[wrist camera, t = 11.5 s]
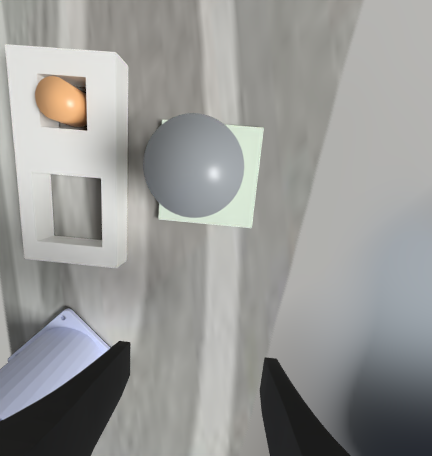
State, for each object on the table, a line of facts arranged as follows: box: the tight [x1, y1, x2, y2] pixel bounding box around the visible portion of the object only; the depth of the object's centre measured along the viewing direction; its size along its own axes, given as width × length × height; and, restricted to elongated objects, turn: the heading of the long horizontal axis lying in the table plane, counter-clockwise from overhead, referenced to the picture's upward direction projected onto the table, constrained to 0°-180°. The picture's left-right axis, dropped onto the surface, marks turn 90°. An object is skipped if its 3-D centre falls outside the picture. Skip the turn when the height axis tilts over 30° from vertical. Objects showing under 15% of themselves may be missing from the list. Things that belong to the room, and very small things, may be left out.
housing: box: [5, 44, 128, 268], centre depth 19 cm, size 16×8×2 cm, turn 175°
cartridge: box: [143, 113, 244, 218], centre depth 15 cm, size 5×5×8 cm
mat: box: [159, 120, 264, 228], centre depth 19 cm, size 8×8×1 cm
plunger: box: [35, 76, 87, 127], centre depth 17 cm, size 3×3×2 cm
